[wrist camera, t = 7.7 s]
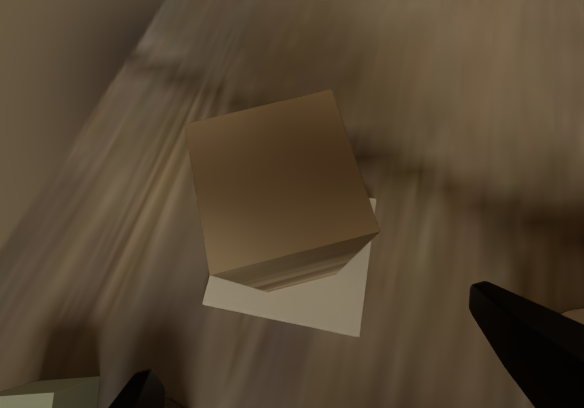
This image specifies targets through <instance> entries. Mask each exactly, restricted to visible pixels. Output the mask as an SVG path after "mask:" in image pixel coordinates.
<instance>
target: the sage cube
mask: <svg viewBox="0 0 584 408" xmlns="http://www.w3.org/2000/svg"><path fill="white" fill-rule="evenodd" d="M99 382H100V376H98V377H83V378H69V379H55V380H41V381H36V382H32V383H29V384H25V385H22V386H18V387H15V388H11V389H8V390H4V391H1V392H0V408H97V403H98V392H99Z"/></svg>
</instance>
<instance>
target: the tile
mask: <svg viewBox="0 0 584 408" xmlns="http://www.w3.org/2000/svg"><path fill="white" fill-rule="evenodd" d="M369 200H370V203H371V206H372V209H373V211H374V214H375V207H376V199H374V198H369ZM370 247H371V241H370V242H369V243H368V244H367V245H366V246H365V247H364V248H363V249H362V250H361V251H360V252H359V253H358V254H357V255H356V256H355V257H353V258H352V259H351V260H350V261H349V262H348V263H347V264H346V265H345V266H344V267H343V268H342V269H341V270H340V271H339V272H338V273H337V274H336V275H332V276H329V277H325V278H321V279H317V280H313V281H309V282H306V283H302V284H298V285H294V286H290V287H286V288H283V289H279V290H275V291H271V292H265V291H262V290H258V289H255V288H252V287H248V286H245V285H241V284H238V283H235V282H231V281H228V280H224V279H221V278H218V277H214V276H211V275H210V277H209V281H208V284H207V288H206V292H205V296H204V300H203V303H202V304H203V305H207V306H212V307H217V308H222V309H226V310H231V311H236V312H241V313H245V314H250V315H255V316H260V317H264V318H269V319H274V320H279V321H283V322H288V323H293V324H298V325H302V326H307V327H312V328H317V329H321V330H326V331H331V332H336V333H340V334H345V335H350V336H355V337H359V335H360V327H361V319H362V311H363V303H364V295H365V287H366V279H367V271H368V263H369V255H370Z"/></svg>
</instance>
